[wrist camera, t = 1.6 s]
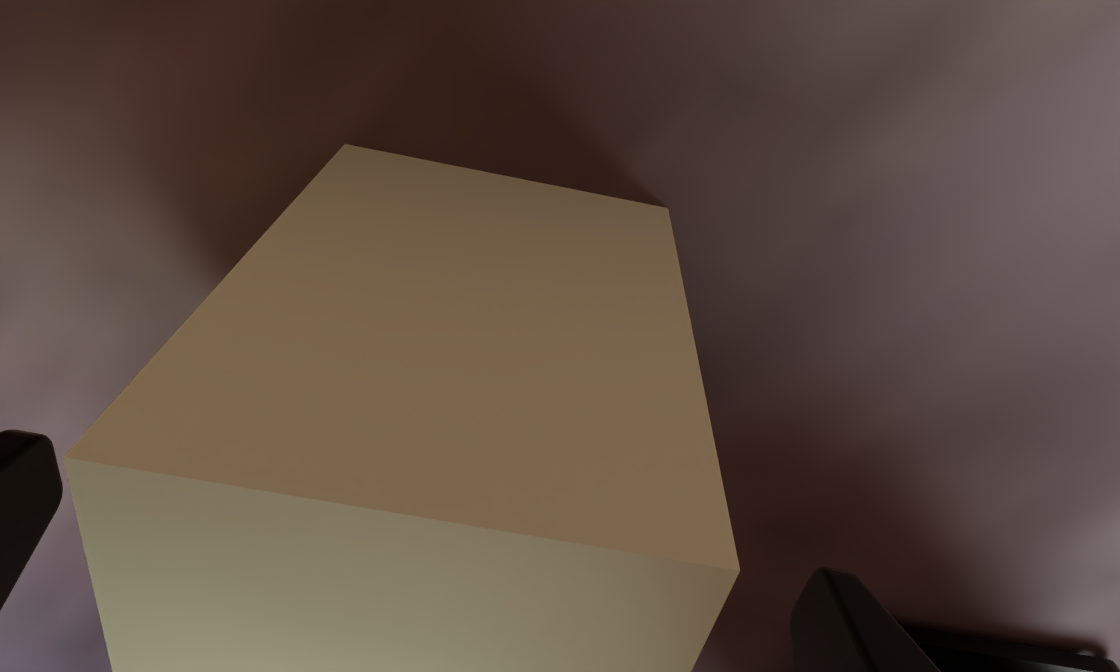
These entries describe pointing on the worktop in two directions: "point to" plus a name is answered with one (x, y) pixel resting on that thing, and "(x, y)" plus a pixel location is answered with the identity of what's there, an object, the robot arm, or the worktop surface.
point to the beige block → (417, 444)
